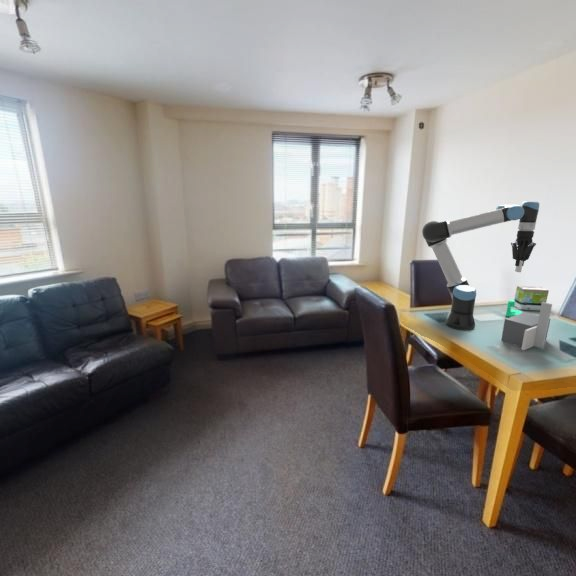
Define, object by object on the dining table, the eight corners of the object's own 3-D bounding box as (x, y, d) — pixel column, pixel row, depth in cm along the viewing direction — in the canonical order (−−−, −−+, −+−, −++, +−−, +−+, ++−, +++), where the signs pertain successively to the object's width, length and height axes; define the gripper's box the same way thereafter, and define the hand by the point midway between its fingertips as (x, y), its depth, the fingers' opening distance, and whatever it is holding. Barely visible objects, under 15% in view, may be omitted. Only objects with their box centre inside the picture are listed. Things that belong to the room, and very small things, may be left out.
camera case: (527, 348, 158) (531, 326, 155) (501, 340, 168) (504, 318, 165) (546, 340, 168) (550, 318, 165) (520, 332, 178) (524, 312, 175)
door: (532, 353, 150) (541, 307, 144) (521, 349, 154) (529, 304, 149) (543, 348, 155) (552, 304, 150) (532, 344, 159) (540, 301, 154)
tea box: (520, 310, 217) (524, 289, 213) (512, 305, 226) (516, 285, 223) (545, 311, 214) (549, 289, 210) (536, 306, 224) (540, 286, 220)
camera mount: (520, 319, 198) (523, 304, 196) (505, 317, 203) (508, 302, 200) (521, 314, 208) (523, 299, 205) (507, 312, 212) (509, 297, 210)
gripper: (519, 230, 174) (511, 273, 179) (542, 230, 174) (534, 273, 180) (509, 229, 181) (502, 270, 187) (532, 229, 181) (524, 270, 187)
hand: (518, 271), depth 183 cm, fingers closed
